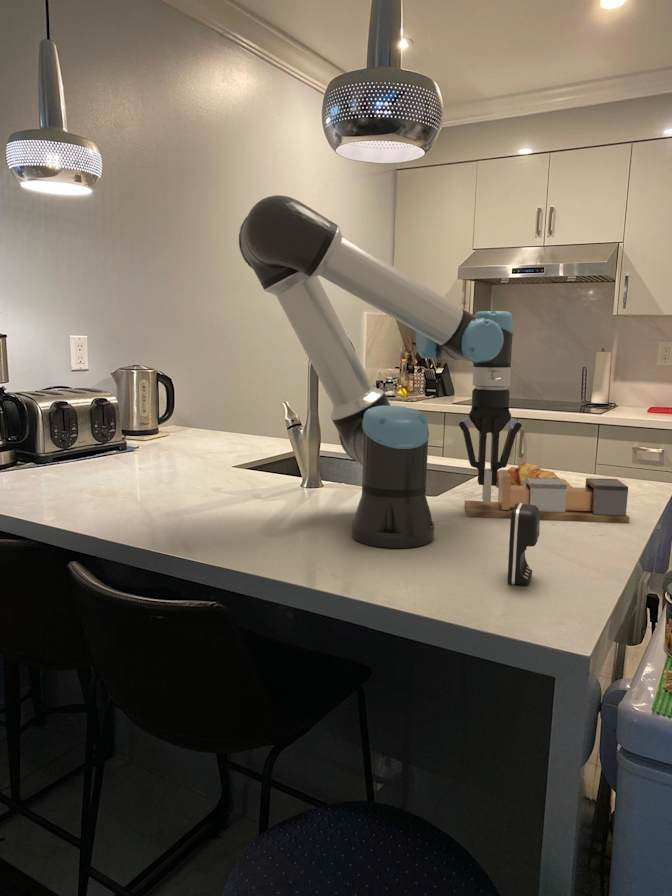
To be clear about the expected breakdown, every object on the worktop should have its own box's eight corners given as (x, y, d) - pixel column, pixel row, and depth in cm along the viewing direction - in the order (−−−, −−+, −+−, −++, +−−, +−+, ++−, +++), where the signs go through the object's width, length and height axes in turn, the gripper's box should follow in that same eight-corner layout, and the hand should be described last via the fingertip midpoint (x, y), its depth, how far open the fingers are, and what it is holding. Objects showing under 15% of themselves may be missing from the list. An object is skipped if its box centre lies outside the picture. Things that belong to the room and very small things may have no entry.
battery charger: (533, 588, 99) (537, 513, 97) (506, 585, 100) (510, 510, 98) (537, 573, 105) (542, 502, 103) (512, 570, 107) (516, 500, 105)
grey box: (593, 514, 136) (595, 485, 135) (584, 505, 144) (586, 478, 143) (625, 516, 135) (628, 487, 134) (614, 506, 143) (617, 479, 142)
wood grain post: (501, 509, 138) (503, 476, 137) (497, 501, 145) (499, 469, 144) (600, 513, 136) (603, 479, 135) (591, 504, 143) (593, 472, 142)
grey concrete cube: (529, 511, 138) (531, 484, 137) (524, 504, 144) (525, 477, 143) (564, 513, 137) (566, 485, 136) (557, 505, 144) (559, 478, 143)
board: (467, 516, 138) (468, 510, 138) (464, 505, 147) (464, 500, 147) (629, 523, 135) (629, 517, 135) (615, 511, 144) (616, 506, 143)
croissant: (575, 509, 160) (583, 477, 162) (564, 496, 152) (573, 463, 154) (492, 493, 173) (501, 464, 174) (478, 481, 165) (487, 451, 166)
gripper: (460, 388, 135) (456, 503, 139) (526, 389, 134) (520, 505, 138) (457, 386, 142) (453, 494, 146) (520, 386, 141) (515, 496, 145)
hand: (486, 499), depth 142 cm, fingers closed
